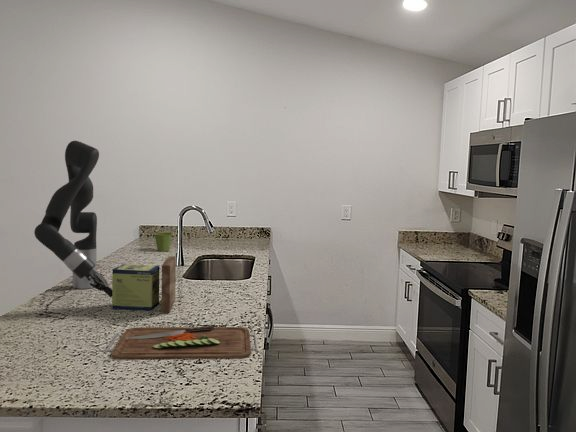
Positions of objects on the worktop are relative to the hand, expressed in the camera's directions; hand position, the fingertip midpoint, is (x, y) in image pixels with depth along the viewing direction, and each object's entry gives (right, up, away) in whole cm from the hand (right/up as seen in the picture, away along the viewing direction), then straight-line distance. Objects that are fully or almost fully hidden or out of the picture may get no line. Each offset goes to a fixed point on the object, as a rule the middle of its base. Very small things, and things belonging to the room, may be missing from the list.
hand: (112, 295), depth 199 cm
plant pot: (-13, +8, +134) cm, 135 cm away
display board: (+20, -5, +4) cm, 21 cm away
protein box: (+8, -5, +2) cm, 10 cm away
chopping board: (+35, -10, -37) cm, 52 cm away
